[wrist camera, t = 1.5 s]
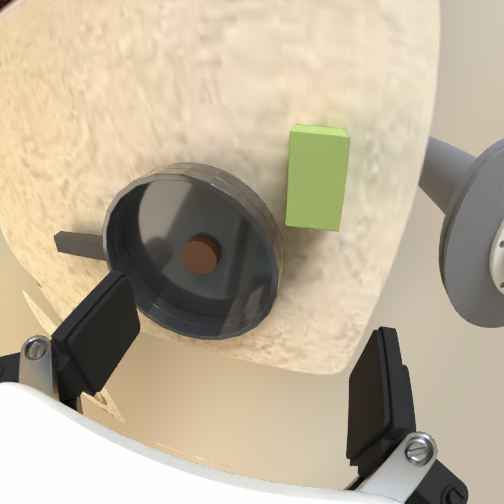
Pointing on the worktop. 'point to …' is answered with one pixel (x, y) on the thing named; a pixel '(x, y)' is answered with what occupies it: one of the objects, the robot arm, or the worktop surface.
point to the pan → (175, 237)
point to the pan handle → (80, 244)
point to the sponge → (316, 177)
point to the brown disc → (200, 255)
